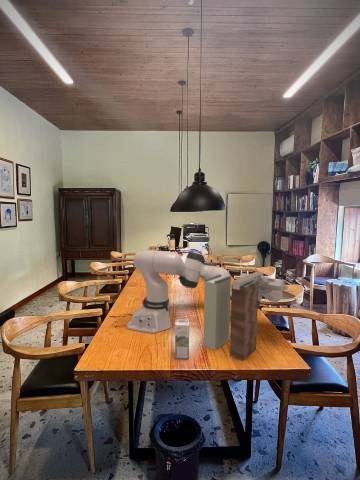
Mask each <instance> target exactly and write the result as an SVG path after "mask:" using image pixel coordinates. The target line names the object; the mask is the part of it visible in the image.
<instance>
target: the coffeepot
mask: <svg viewBox="0 0 360 480" xmlns="http://www.w3.org/2000/svg"><path fill="white" fill-rule="evenodd" d="M204 263H205V265H208V266H216V267H217V266H218V267H221V268H222V264H221V263H220V262H214V261H213V259H210V261H209V262H204Z"/></svg>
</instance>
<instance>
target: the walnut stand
mask: <svg viewBox="0 0 360 480" xmlns="http://www.w3.org/2000/svg"><path fill="white" fill-rule="evenodd" d="M258 283H259V281H255V282H252V283H250V284H248V285H246V286H243V289H240V290H238V289H233V283H231V300H230V328H229V357H231V358H234V359H237V360H240V361H245V360H246V359H247V358H248V357H249V356H250V355H252V354H253V352H255V351H256V350H257V333H258V330H257V329H258V310H259V309H258Z"/></svg>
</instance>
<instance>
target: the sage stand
mask: <svg viewBox="0 0 360 480" xmlns="http://www.w3.org/2000/svg"><path fill="white" fill-rule="evenodd" d="M203 287H204V291H203V292H204V296H203V297H204V298H203V302H204V303H203V347H205V348H208V349H211V350H213V351H216V350H217V349H219V348H220V347H222V346H223V345H225V344H226V343H228V342H230V328H231V300H230V291H232V276H231V275H230V276H227V277H221V274H219V275H216V276H212V277H209V278H206V279H205V281H204V286H203Z"/></svg>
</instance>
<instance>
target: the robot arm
mask: <svg viewBox="0 0 360 480" xmlns="http://www.w3.org/2000/svg"><path fill="white" fill-rule="evenodd" d="M206 262H207V260H206V258H205V257H204V255H203V254H202V253H200V252H198V251H189V252H188V253H187V255H186V258H185V262H184V260H183V259H182V257H181V255H180V253H177V252H173V251H167V250H154V249H151V250H150V249H144V250H138V251H137V252H136V253H135V254H134V256H133V266H134V268H135V269H136V270H137V271H138V272H139V273H140V274H141V275H142V278H143V280H144V283H145V290H146V293H145V294H146V296H145V297H144V298H143V300H142V303H141V306H140V307H138V308H137V309H136V310H134V313H133V314H132V317H131V319H130V320H129V321H128V322H127V325H126V327H127V329H128V330H132V331H138V332H142V333H148V334H156V333H159V332H163V331H166V330H169V329H170V328H171V327H172V321H171V318H170V298H169V284H168V281H166V280H165V279H164V278H162V276H161V275H160V274H164V275H169V276H170V275H171V276H173V275H174V276H176V275H177V276H178V277H177V279H178V280H179V283H180V285H182V287H184V288H187V289H191V290H192V289H195V288H197V287H198V285H199V281H200V278H201V280H202V281H203V282H205V279H206V278H209V277H212V276H216V275H219V274H221V277H227V276H231V274H230V271H228V270H227V269H226V268H224V267H222V266H221V267H219V266H217V265H216V266H208V265H205V263H206ZM250 274H251V273H249V274H248V273H243V272H242V273H240V274H239V278H242V277H244V276H247V275H250ZM259 279H260V281H259V283H258V310H259V309H260V305H261V302H262V299H263V297H264V299H267V300H268V301H269V302H271V303H278V302H280V301H281V300H282V298H283V297H284V294H283V292H284V291H287V290H288V287H287V286H286V283H285V281H284V280H283V279H279V278H273V277H271V276H268V275H264V274H263V275H259ZM231 291H232V290H231ZM231 291H230V301H231Z"/></svg>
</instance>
